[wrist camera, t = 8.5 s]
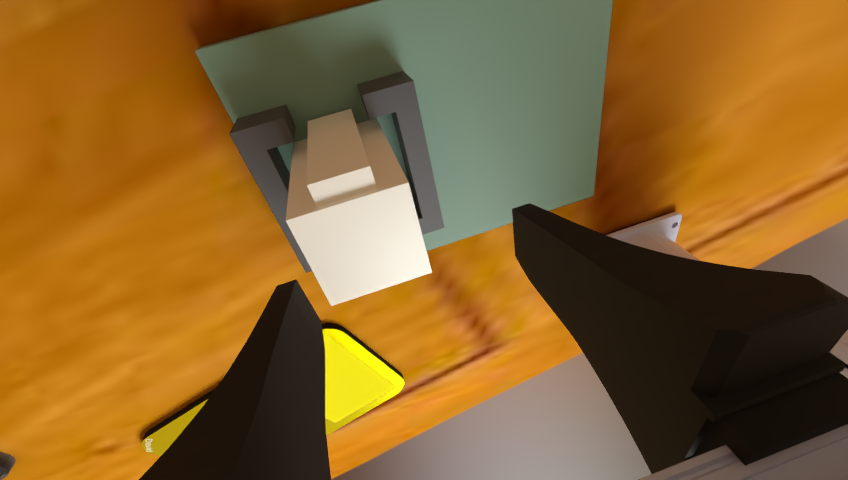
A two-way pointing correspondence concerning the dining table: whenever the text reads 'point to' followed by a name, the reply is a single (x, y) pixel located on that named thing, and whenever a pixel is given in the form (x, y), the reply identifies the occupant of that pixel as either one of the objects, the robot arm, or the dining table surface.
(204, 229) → the dining table surface
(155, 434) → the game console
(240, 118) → the board
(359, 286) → the keyed plug
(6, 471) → the phone
